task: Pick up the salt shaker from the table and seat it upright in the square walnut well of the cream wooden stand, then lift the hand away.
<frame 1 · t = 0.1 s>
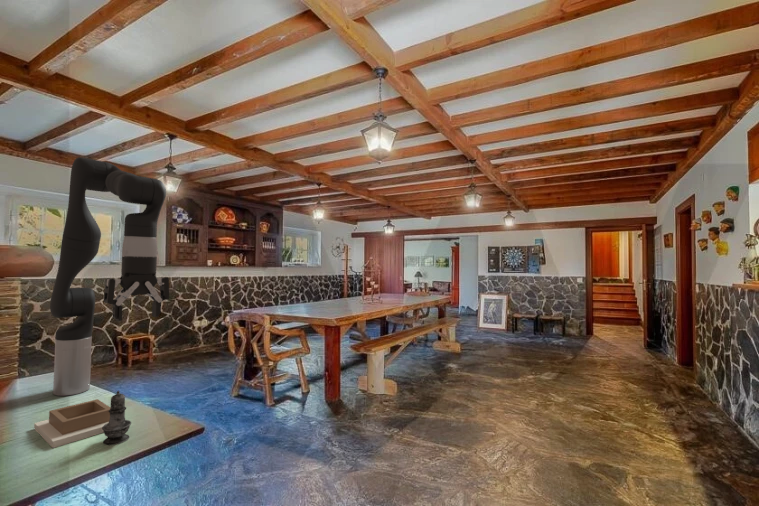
hand: (137, 318, 96), 29 cm above the table, tool pointing down, fingers open, 8 cm apart
shaker stand: (80, 427, 98), on the table
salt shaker: (116, 440, 92), on the table
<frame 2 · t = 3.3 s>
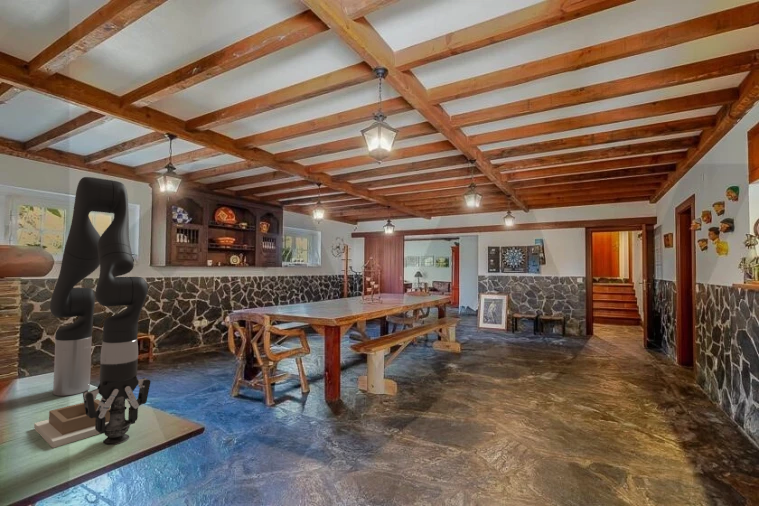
hand: (116, 427, 92), 3 cm above the table, tool pointing down, fingers closed on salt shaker, 6 cm apart
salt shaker: (116, 440, 92), on the table, touching gripper
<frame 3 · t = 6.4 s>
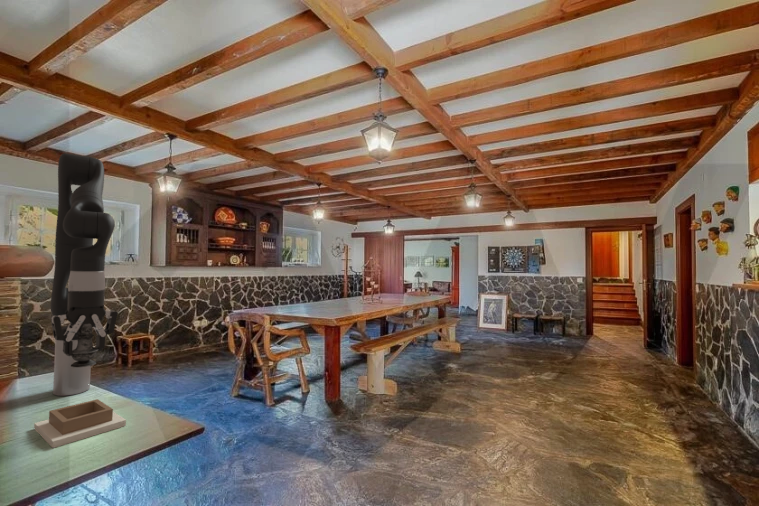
hand: (84, 352, 98), 19 cm above the table, tool pointing down, fingers closed on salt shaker, 6 cm apart
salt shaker: (83, 365, 98), point 16 cm above the table, touching gripper
when the fingers open (6 cm above the table, at t = 9.9 s): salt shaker drops 1 cm, resting on shaker stand.
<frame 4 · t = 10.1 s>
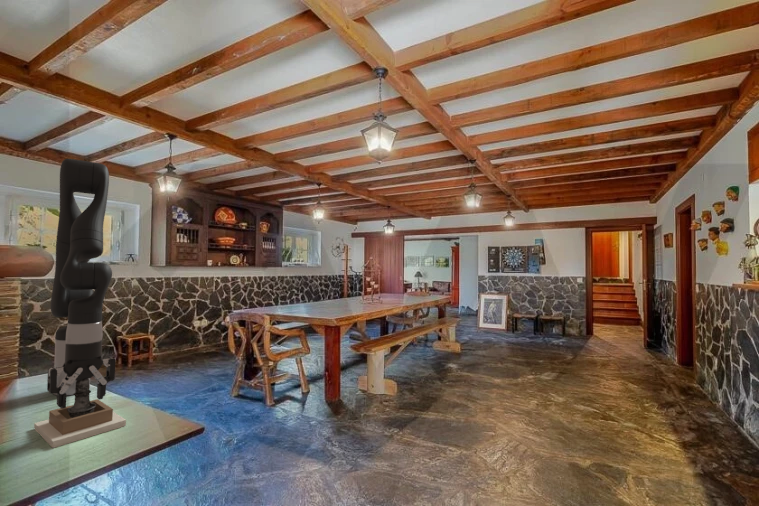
hand: (81, 402, 98), 6 cm above the table, tool pointing down, fingers open, 7 cm apart
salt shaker: (81, 421, 98), point 1 cm above the table, touching shaker stand
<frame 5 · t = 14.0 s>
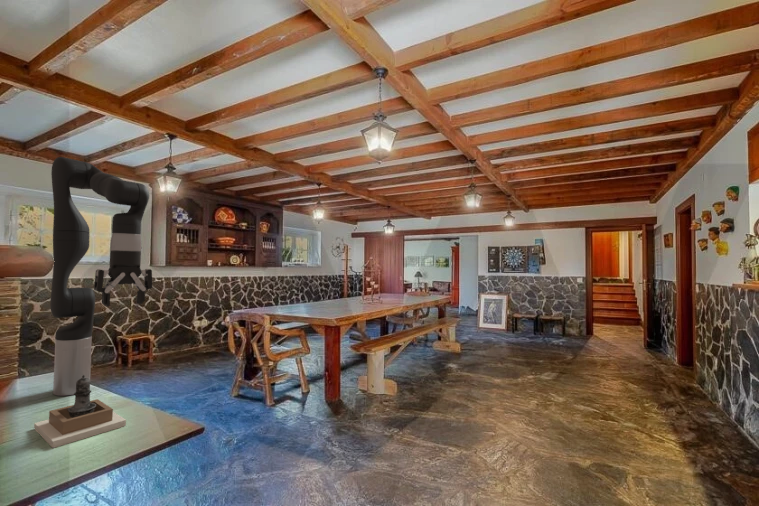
hand: (123, 304, 111), 30 cm above the table, tool pointing down, fingers open, 8 cm apart
nothing on the table moved.
at the end: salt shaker 0.1 cm off-centre on the shaker stand, point 1.3 cm above the shaker stand's base; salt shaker tilted 0°; the gripper is holding nothing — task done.
